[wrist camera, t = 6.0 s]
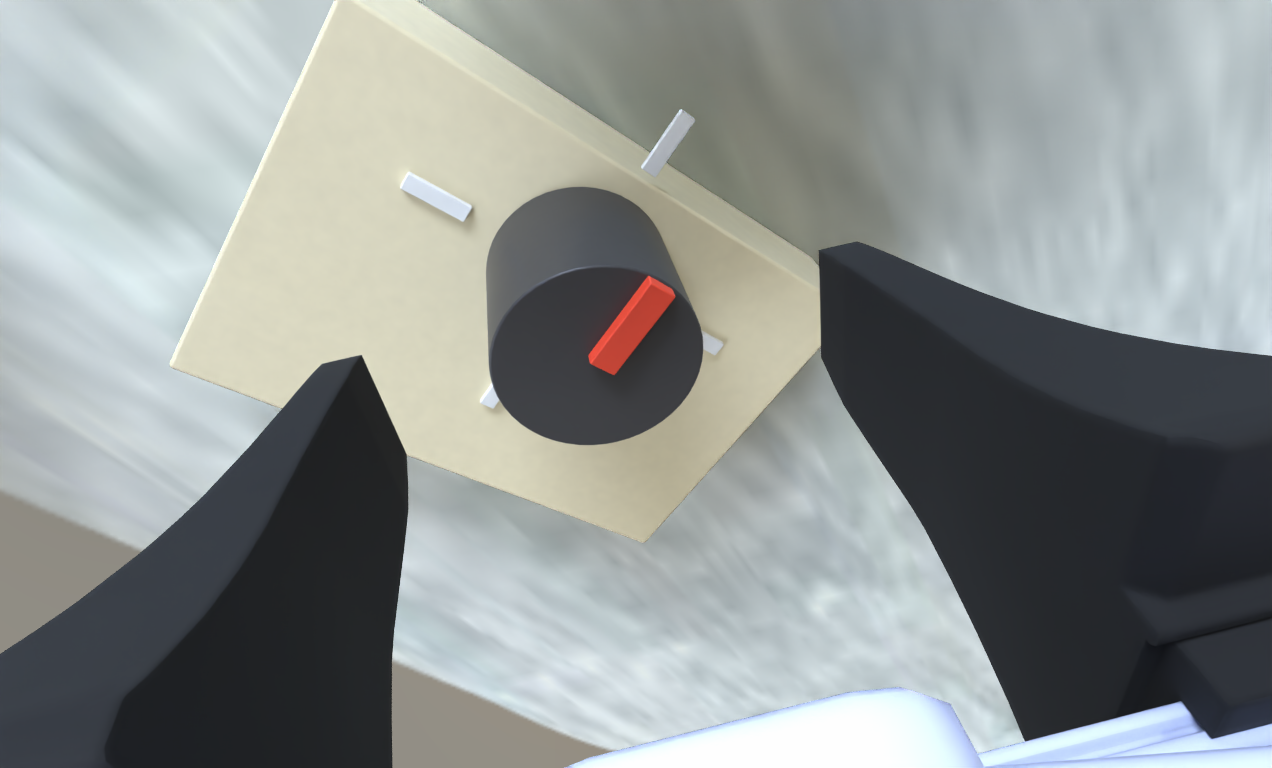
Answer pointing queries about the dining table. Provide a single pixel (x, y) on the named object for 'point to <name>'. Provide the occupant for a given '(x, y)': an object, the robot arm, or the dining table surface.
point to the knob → (588, 319)
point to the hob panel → (477, 264)
